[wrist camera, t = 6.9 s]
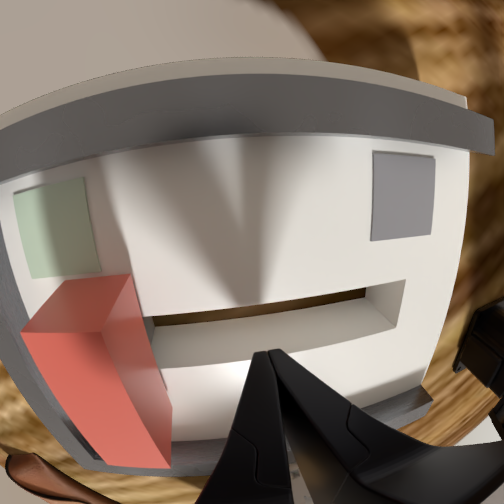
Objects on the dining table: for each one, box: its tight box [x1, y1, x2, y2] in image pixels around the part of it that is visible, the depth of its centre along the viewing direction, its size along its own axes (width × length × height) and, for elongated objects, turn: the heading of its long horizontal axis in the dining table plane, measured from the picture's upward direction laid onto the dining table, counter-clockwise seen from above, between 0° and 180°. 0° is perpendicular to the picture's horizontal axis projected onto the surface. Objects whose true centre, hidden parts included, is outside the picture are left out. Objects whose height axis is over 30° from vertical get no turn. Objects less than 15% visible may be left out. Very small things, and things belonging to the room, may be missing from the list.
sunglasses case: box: [5, 453, 120, 504], centre depth 18 cm, size 18×7×7 cm
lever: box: [20, 274, 173, 468], centre depth 8 cm, size 2×6×6 cm, turn 3°
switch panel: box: [0, 57, 469, 441], centre depth 11 cm, size 20×18×3 cm
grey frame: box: [0, 74, 495, 477], centre depth 9 cm, size 20×16×2 cm
